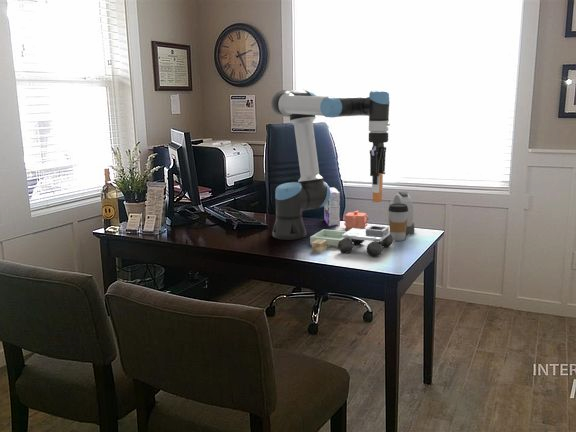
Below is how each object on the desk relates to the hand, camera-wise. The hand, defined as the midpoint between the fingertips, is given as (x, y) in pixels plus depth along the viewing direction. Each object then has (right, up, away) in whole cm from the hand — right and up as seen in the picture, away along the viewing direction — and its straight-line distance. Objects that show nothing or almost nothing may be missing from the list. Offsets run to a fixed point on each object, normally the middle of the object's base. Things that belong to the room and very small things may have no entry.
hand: (377, 191), depth 217 cm
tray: (-17, -21, +17) cm, 32 cm away
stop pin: (0, -4, +1) cm, 4 cm away
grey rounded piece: (+17, -17, +33) cm, 41 cm away
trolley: (-4, -24, +5) cm, 24 cm away
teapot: (-4, -16, +39) cm, 43 cm away
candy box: (-14, -13, +52) cm, 56 cm away
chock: (-22, -24, +6) cm, 33 cm away
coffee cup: (+12, -20, +20) cm, 31 cm away
